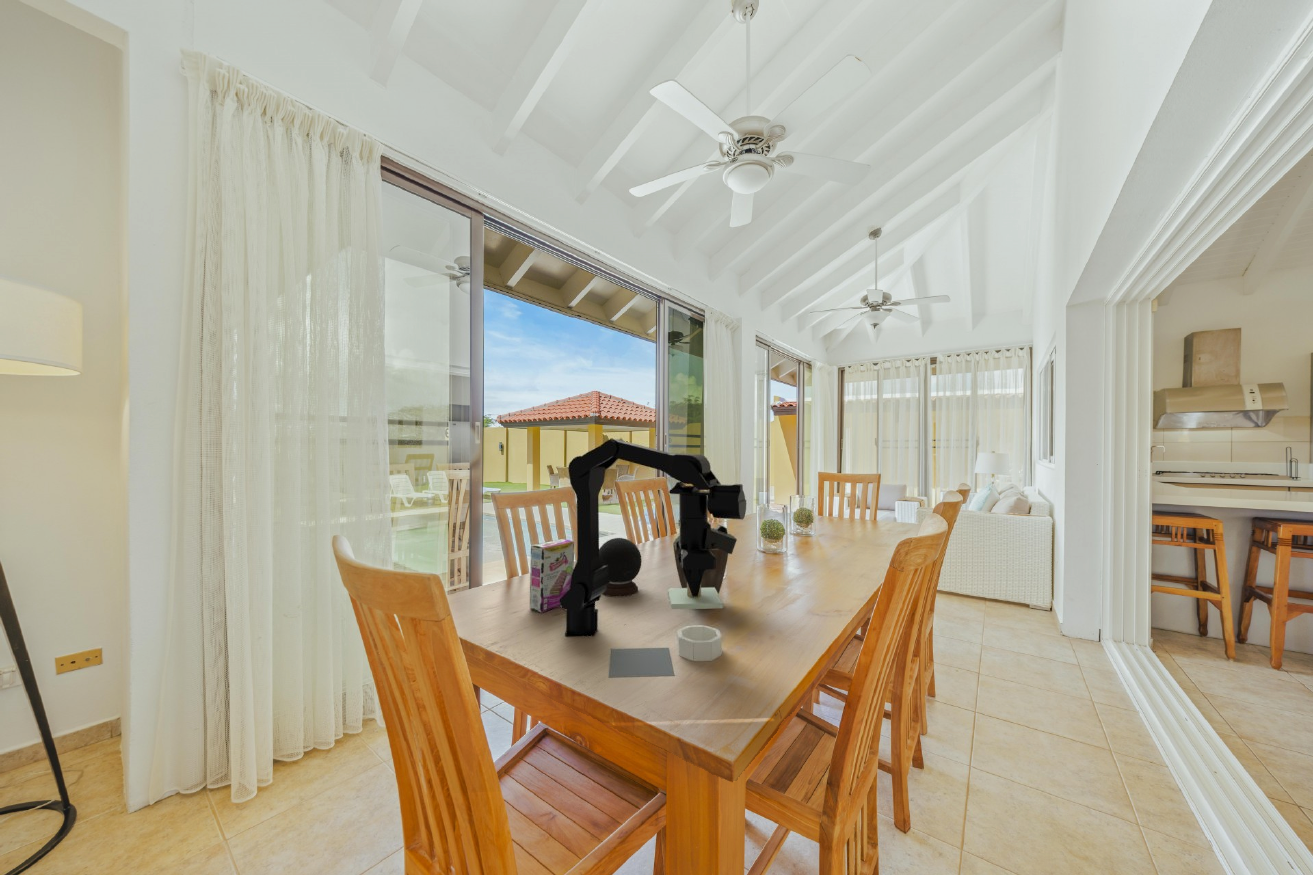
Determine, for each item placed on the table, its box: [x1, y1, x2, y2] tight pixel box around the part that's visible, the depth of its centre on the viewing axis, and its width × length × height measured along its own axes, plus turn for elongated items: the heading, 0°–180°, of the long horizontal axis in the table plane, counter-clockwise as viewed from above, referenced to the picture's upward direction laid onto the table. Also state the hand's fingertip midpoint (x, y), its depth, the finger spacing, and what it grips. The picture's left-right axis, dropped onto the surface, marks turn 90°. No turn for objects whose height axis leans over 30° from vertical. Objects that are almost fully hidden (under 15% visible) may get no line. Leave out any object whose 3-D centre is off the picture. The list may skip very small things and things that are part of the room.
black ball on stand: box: [599, 537, 643, 598], centre depth 141 cm, size 13×13×15 cm
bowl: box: [676, 624, 723, 662], centre depth 100 cm, size 9×9×4 cm
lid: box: [667, 583, 724, 610], centre depth 99 cm, size 10×10×4 cm
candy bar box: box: [529, 538, 575, 614], centre depth 128 cm, size 11×5×16 cm, turn 144°
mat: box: [608, 647, 676, 679], centre depth 95 cm, size 12×12×1 cm
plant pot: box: [672, 540, 729, 595], centre depth 130 cm, size 15×15×16 cm
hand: (694, 593), depth 99 cm, fingers closed on lid, 3 cm apart
